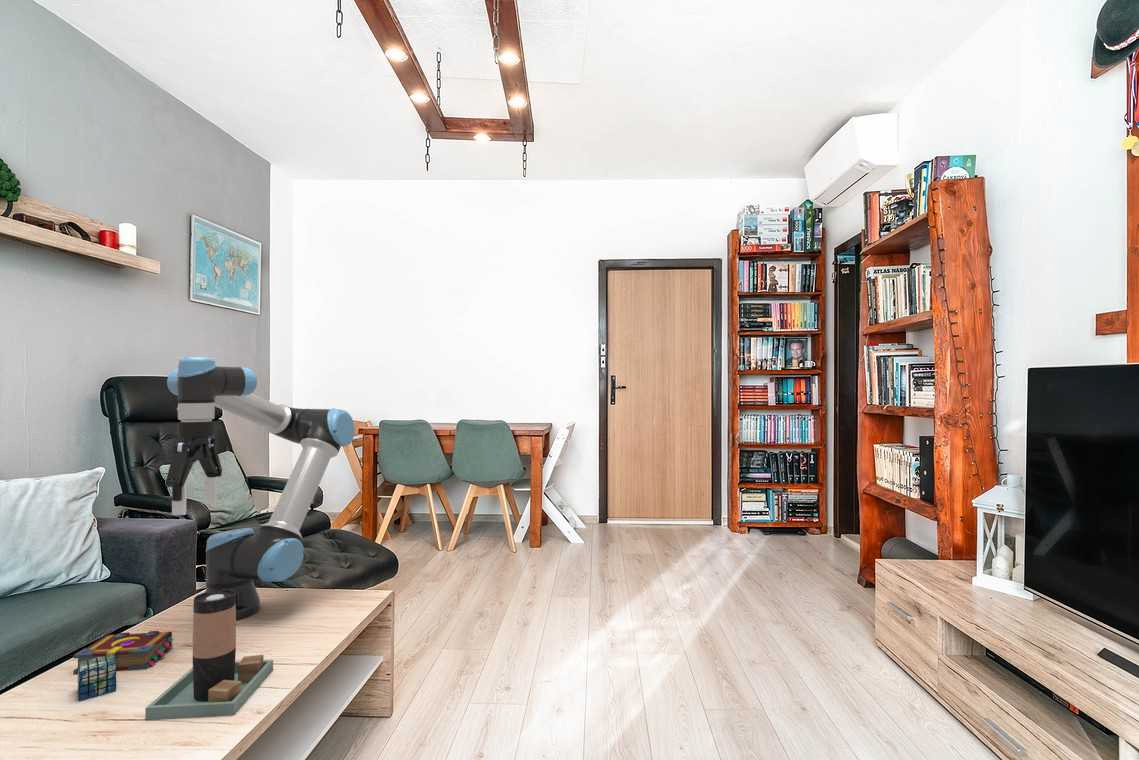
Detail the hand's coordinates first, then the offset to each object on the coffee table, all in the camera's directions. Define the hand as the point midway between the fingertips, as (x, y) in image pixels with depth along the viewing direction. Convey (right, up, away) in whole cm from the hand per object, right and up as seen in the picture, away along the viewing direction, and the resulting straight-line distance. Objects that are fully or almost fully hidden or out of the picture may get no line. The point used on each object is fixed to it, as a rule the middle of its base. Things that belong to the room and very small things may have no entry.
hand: (195, 508), depth 139 cm
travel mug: (+17, -34, -20) cm, 43 cm away
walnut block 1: (+22, -33, -25) cm, 47 cm away
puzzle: (-9, -35, -18) cm, 40 cm away
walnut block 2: (+21, -34, -14) cm, 42 cm away
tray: (+17, -34, -20) cm, 43 cm away
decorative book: (-13, -35, -4) cm, 38 cm away
